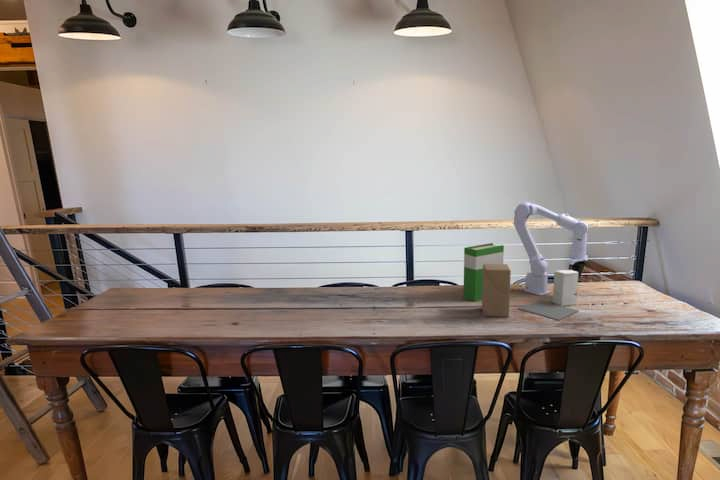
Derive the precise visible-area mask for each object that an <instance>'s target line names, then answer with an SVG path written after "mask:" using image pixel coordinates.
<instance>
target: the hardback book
mask: <svg viewBox="0 0 720 480" xmlns="http://www.w3.org/2000/svg"><path fill="white" fill-rule="evenodd" d="M504 246H505V245H501V244H500V245H494V243H493V242H491V243H485V244H477V245H472V246H466V247H463V251H464V253H463V255H464V257H463V299H466V300H469V301H471V302H474V303H476V302H478V301H479V302H480V301H482V287H483V264H504V254H505V253H504V249H505V247H504Z"/></svg>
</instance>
